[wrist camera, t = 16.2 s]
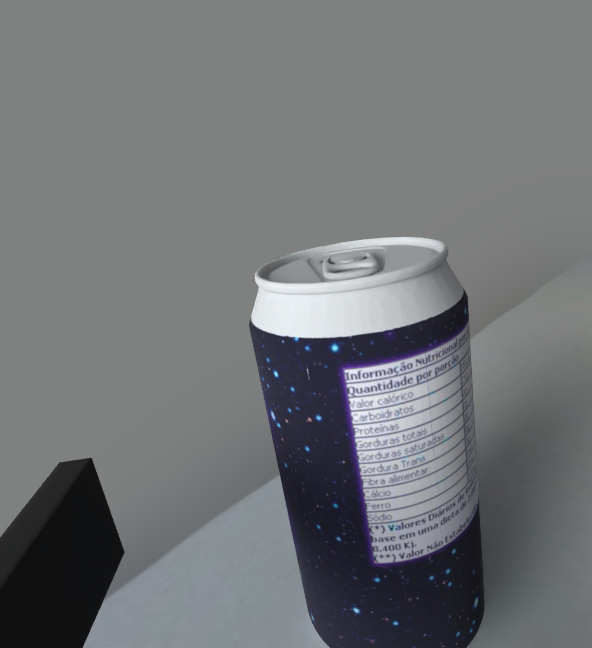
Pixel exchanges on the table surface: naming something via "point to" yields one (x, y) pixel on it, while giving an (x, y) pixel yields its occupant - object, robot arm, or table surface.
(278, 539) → the table surface
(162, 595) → the table surface
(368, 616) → the beverage can
